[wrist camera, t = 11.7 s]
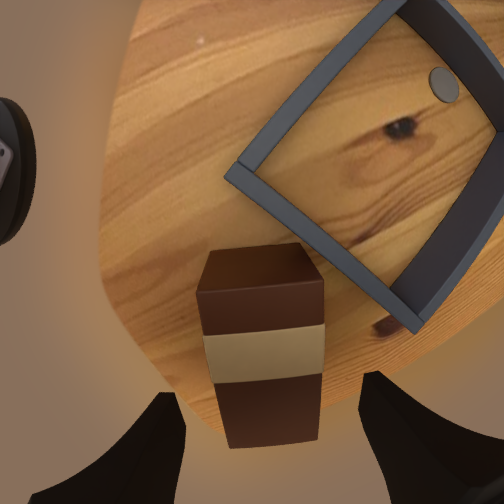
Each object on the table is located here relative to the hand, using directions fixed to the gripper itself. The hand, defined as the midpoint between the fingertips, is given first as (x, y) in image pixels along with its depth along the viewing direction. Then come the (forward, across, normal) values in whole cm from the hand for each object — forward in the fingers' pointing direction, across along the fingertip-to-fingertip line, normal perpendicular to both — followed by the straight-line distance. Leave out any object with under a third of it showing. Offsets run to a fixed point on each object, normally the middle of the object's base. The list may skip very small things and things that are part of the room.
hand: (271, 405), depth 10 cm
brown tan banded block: (+6, 0, 0) cm, 6 cm away
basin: (+6, -8, -9) cm, 14 cm away
